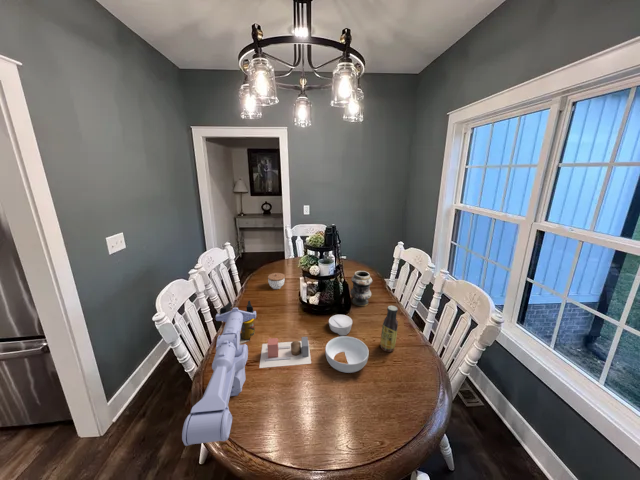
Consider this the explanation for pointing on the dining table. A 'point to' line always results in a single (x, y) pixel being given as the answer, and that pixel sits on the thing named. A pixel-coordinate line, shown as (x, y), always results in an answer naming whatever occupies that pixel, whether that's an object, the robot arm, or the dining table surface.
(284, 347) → the press base
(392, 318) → the sauce bottle
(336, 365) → the cereal bowl
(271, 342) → the pinkish red block
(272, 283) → the lidded jar
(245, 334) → the condiment
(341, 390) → the dining table surface
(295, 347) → the walnut
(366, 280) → the apothecary jar
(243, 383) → the robot arm
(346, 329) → the ramekin
